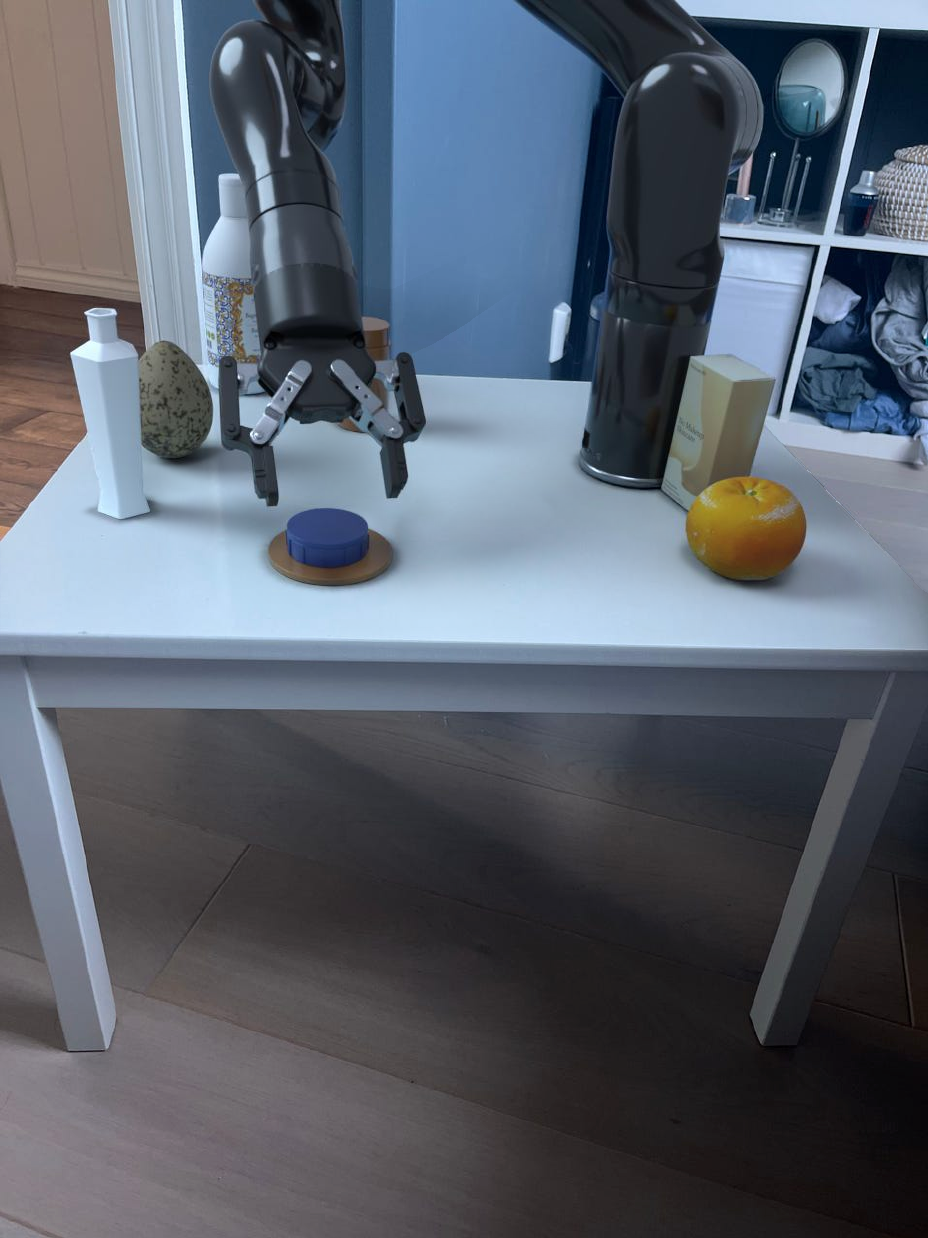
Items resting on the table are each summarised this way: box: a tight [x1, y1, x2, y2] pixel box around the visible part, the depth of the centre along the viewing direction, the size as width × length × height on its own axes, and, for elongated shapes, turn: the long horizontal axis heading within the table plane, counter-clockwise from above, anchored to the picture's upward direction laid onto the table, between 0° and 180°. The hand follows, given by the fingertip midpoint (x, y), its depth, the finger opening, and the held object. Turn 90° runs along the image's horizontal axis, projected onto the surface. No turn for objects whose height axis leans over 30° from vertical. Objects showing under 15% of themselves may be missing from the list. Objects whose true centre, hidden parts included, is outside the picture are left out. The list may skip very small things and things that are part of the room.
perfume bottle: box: [70, 307, 151, 520], centre depth 71 cm, size 5×4×15 cm
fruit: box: [685, 476, 808, 581], centre depth 73 cm, size 8×8×8 cm
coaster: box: [267, 527, 393, 586], centre depth 71 cm, size 9×9×1 cm
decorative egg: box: [138, 340, 214, 459], centre depth 82 cm, size 7×7×10 cm
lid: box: [285, 507, 369, 568], centre depth 71 cm, size 6×6×2 cm
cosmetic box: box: [661, 353, 777, 512], centre depth 81 cm, size 6×4×12 cm
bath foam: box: [201, 173, 266, 395], centre depth 96 cm, size 7×7×20 cm
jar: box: [336, 316, 392, 433], centre depth 92 cm, size 5×5×10 cm
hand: (334, 498), depth 68 cm, fingers open, 8 cm apart
